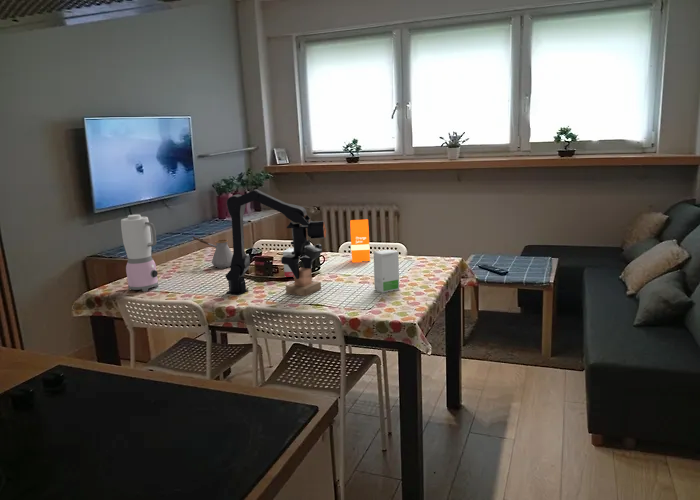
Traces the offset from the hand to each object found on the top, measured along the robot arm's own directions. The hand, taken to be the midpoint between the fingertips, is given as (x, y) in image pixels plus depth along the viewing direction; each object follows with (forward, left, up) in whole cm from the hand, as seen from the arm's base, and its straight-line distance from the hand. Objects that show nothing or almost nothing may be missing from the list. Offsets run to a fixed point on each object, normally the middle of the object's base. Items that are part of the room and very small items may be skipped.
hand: (302, 276), depth 224 cm
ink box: (-20, +18, -6) cm, 28 cm away
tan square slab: (0, 0, -6) cm, 6 cm away
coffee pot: (-68, +17, -6) cm, 70 cm away
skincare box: (+30, +15, -6) cm, 34 cm away
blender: (-67, -24, -6) cm, 71 cm away
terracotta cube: (0, 0, -3) cm, 3 cm away
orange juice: (-6, +54, -6) cm, 55 cm away
